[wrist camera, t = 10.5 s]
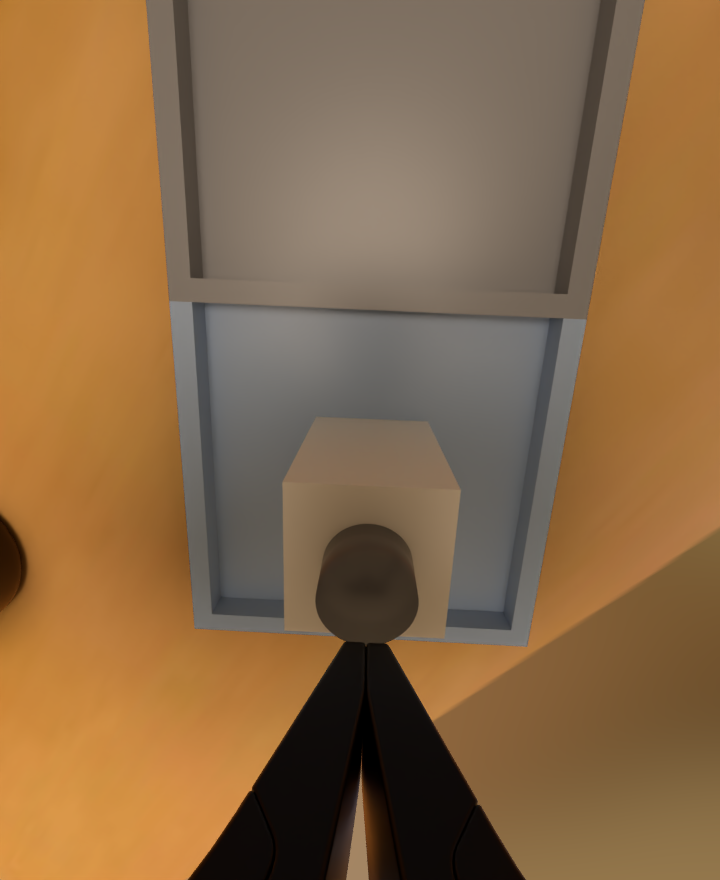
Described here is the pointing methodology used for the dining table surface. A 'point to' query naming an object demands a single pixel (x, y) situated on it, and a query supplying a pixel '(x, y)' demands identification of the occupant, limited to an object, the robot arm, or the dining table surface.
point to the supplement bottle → (8, 567)
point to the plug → (369, 531)
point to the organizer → (382, 262)
